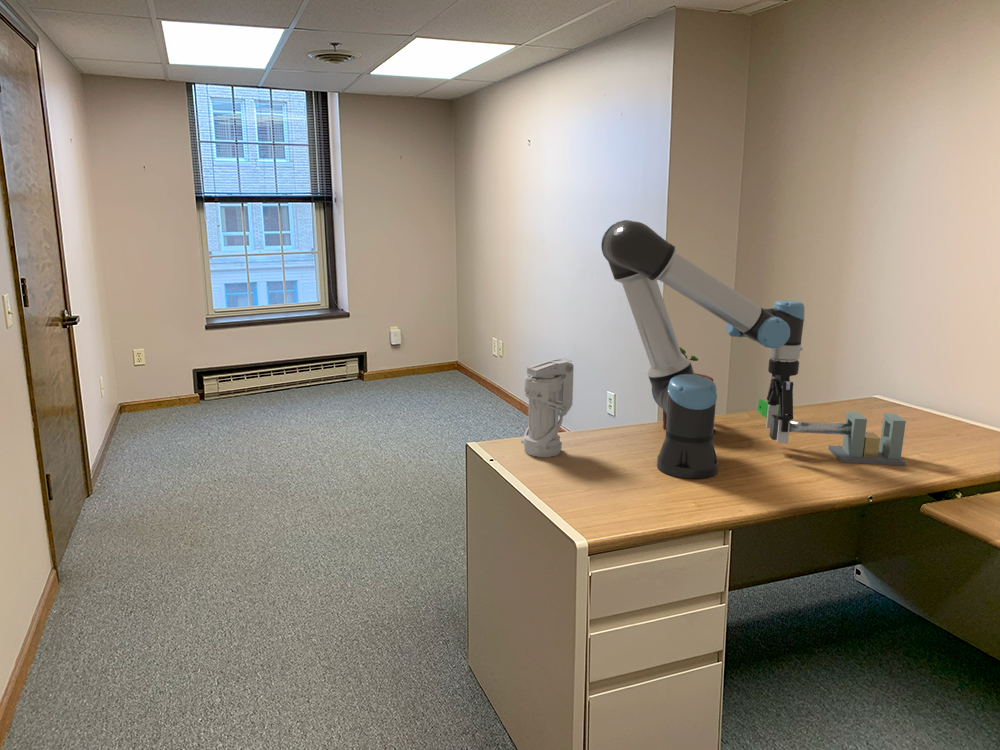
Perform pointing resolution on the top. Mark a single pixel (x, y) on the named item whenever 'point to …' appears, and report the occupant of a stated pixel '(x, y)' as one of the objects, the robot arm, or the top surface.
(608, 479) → the top surface
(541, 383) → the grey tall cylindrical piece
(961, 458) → the top surface
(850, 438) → the bearing stand
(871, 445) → the spacer
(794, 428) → the shaft
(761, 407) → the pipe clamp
